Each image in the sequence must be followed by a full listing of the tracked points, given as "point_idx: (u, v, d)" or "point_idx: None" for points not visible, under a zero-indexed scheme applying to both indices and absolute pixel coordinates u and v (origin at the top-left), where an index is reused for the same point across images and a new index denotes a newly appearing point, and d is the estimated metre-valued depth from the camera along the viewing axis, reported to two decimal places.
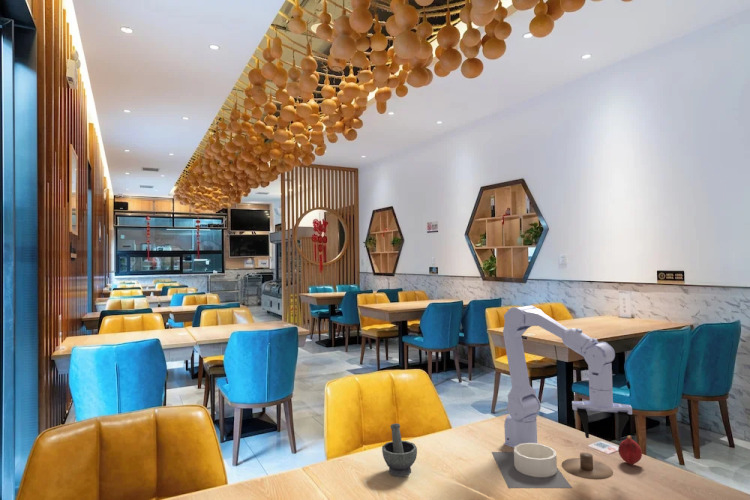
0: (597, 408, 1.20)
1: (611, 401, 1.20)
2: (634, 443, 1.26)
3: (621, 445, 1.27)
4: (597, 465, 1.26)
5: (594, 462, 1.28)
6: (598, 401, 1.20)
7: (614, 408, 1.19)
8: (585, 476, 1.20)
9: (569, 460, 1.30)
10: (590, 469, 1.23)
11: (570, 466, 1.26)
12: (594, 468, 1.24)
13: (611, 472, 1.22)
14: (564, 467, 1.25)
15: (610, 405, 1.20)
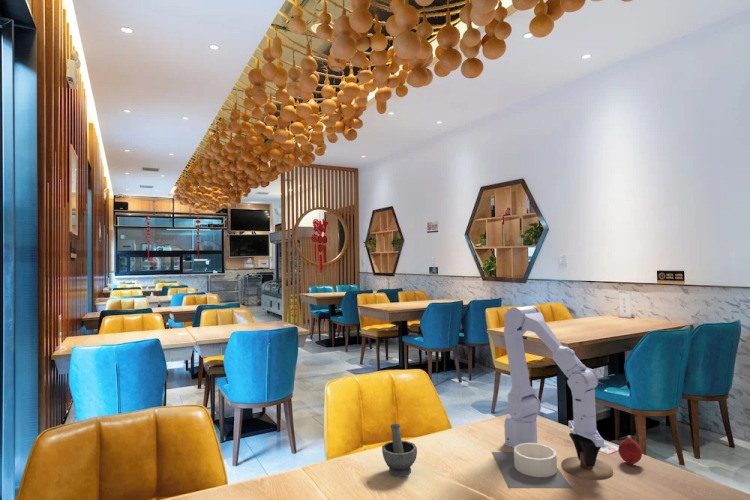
0: None
1: (583, 427, 1.23)
2: (634, 443, 1.26)
3: (621, 445, 1.27)
4: (597, 464, 1.26)
5: None
6: (573, 423, 1.26)
7: (583, 434, 1.22)
8: (585, 475, 1.20)
9: (569, 459, 1.30)
10: (590, 468, 1.23)
11: (570, 465, 1.26)
12: (594, 467, 1.24)
13: (611, 470, 1.22)
14: (564, 466, 1.25)
15: (581, 431, 1.23)
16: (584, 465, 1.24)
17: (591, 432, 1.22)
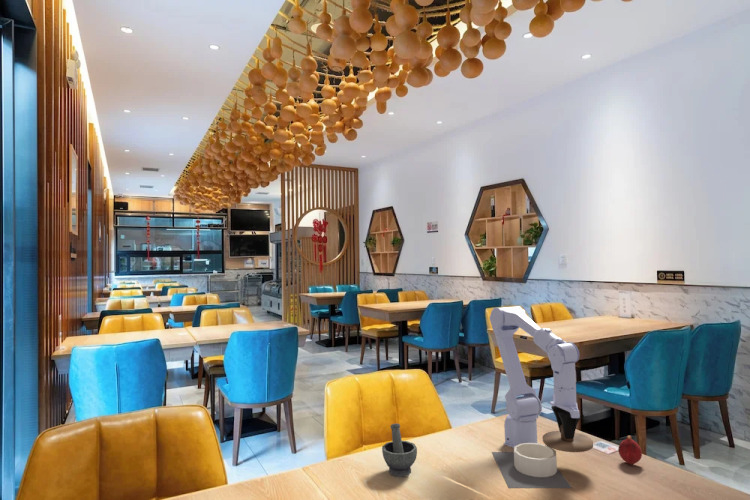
0: None
1: (562, 399, 1.23)
2: (634, 443, 1.26)
3: (621, 445, 1.27)
4: (579, 437, 1.26)
5: (577, 434, 1.28)
6: (554, 396, 1.27)
7: (561, 406, 1.23)
8: (563, 446, 1.21)
9: (552, 432, 1.31)
10: (570, 440, 1.24)
11: (551, 437, 1.27)
12: (575, 439, 1.25)
13: (591, 443, 1.22)
14: (544, 438, 1.27)
15: (560, 403, 1.24)
16: (564, 437, 1.24)
17: (569, 404, 1.23)
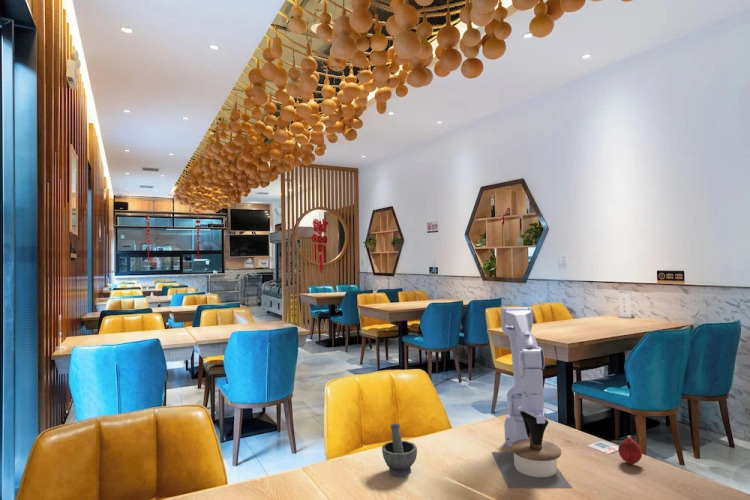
0: None
1: (529, 405, 1.24)
2: (634, 443, 1.26)
3: (621, 445, 1.27)
4: (548, 446, 1.26)
5: (546, 443, 1.29)
6: (522, 401, 1.27)
7: (527, 411, 1.23)
8: (530, 454, 1.21)
9: (522, 440, 1.31)
10: (538, 449, 1.24)
11: (520, 445, 1.27)
12: (543, 448, 1.25)
13: (558, 452, 1.22)
14: (513, 446, 1.27)
15: (527, 408, 1.24)
16: (532, 446, 1.25)
17: (536, 410, 1.23)
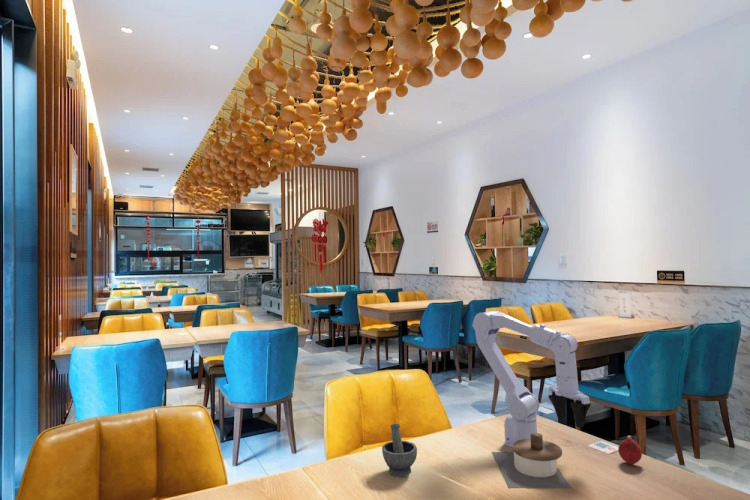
0: None
1: (568, 388, 1.30)
2: (634, 443, 1.26)
3: (621, 445, 1.27)
4: (549, 446, 1.26)
5: (547, 443, 1.28)
6: (557, 386, 1.33)
7: (568, 395, 1.29)
8: (530, 454, 1.21)
9: (523, 440, 1.31)
10: (539, 449, 1.24)
11: (521, 445, 1.27)
12: (544, 448, 1.25)
13: (559, 452, 1.22)
14: (514, 446, 1.27)
15: (566, 392, 1.30)
16: (533, 446, 1.25)
17: (575, 392, 1.30)
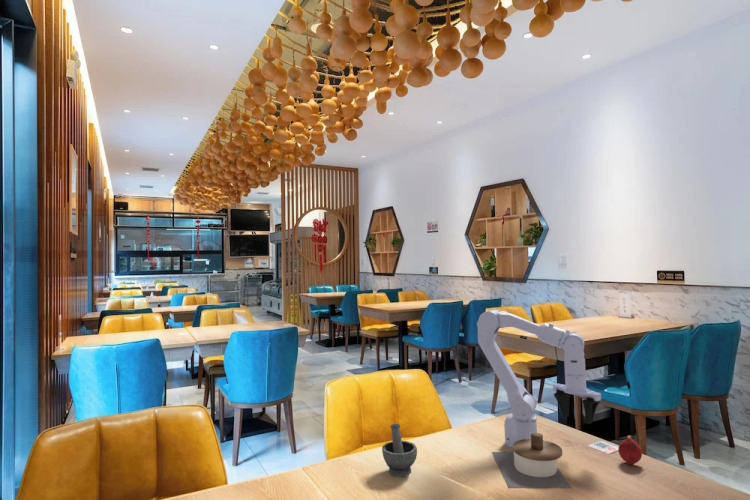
0: None
1: (579, 386, 1.32)
2: (634, 443, 1.26)
3: (621, 445, 1.27)
4: (549, 446, 1.26)
5: (548, 443, 1.28)
6: (567, 384, 1.34)
7: (580, 393, 1.31)
8: (531, 454, 1.21)
9: (524, 440, 1.31)
10: (539, 449, 1.24)
11: (521, 445, 1.27)
12: (544, 448, 1.25)
13: (559, 452, 1.22)
14: (515, 446, 1.27)
15: (577, 389, 1.32)
16: (533, 446, 1.25)
17: (585, 389, 1.32)
